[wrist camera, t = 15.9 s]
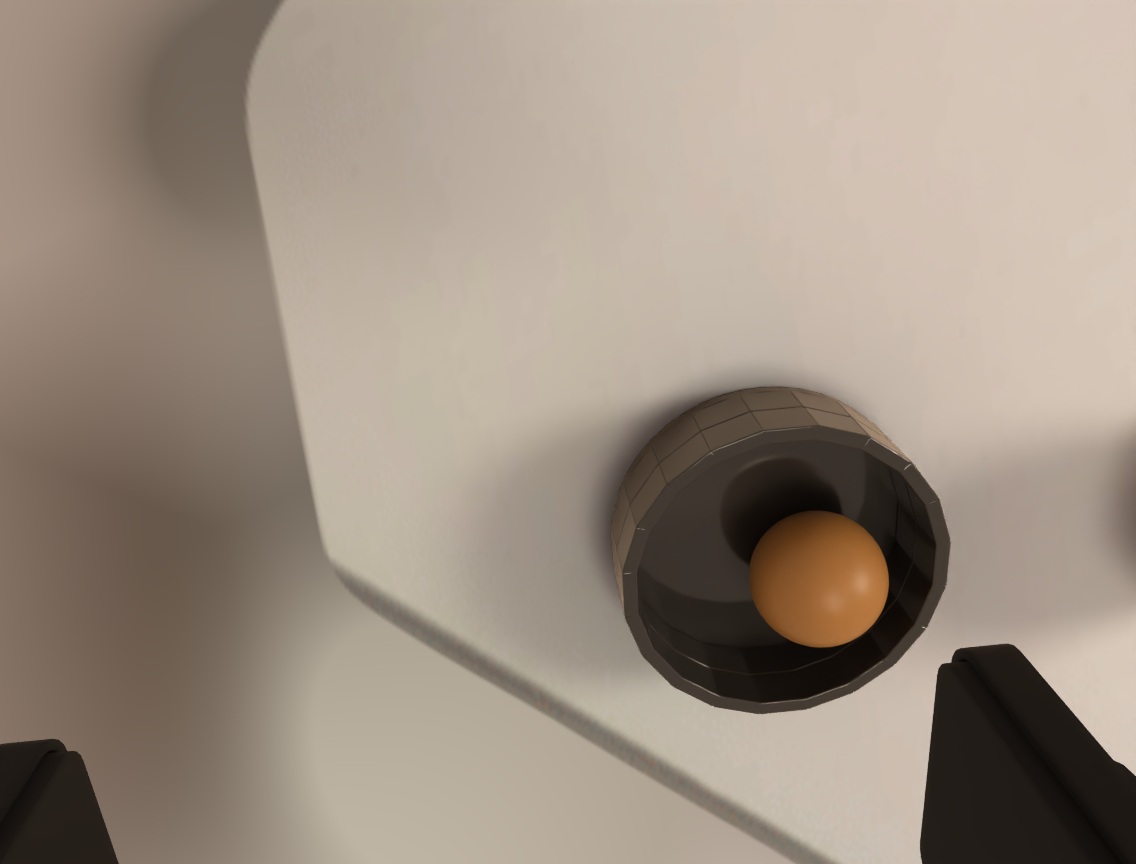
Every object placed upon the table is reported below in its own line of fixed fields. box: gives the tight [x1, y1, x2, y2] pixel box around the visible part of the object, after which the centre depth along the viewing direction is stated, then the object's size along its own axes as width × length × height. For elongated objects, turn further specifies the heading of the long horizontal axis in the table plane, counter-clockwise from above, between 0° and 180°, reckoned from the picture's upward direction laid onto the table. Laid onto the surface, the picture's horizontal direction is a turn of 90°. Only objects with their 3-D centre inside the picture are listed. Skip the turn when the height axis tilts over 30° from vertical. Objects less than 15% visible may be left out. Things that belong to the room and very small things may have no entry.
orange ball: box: [749, 511, 889, 647], centre depth 39 cm, size 6×6×6 cm
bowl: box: [611, 387, 951, 714], centre depth 40 cm, size 13×13×4 cm
